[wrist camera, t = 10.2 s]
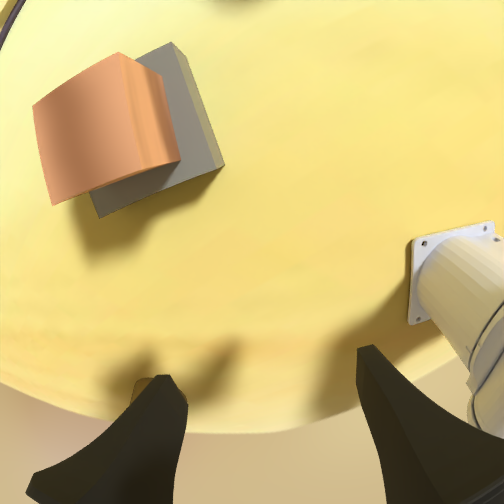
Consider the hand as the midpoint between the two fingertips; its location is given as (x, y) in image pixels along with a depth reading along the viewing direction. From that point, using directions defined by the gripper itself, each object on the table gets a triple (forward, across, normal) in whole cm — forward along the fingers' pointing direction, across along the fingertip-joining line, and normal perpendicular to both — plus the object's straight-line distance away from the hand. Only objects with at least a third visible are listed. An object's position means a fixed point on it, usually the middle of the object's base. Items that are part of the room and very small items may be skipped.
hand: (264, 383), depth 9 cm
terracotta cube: (+7, +5, -11) cm, 14 cm away
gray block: (+11, +5, -11) cm, 16 cm away
